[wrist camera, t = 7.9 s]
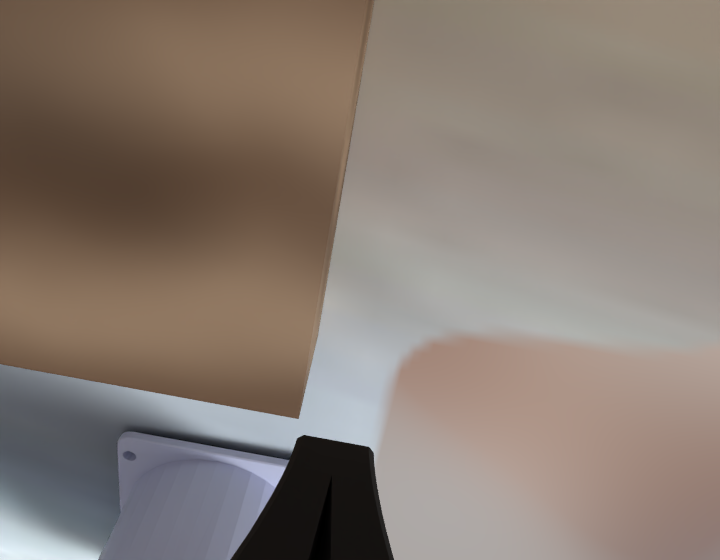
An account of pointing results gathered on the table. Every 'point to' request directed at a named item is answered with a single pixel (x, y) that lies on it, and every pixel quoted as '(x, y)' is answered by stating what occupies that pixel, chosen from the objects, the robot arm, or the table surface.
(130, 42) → the brown block
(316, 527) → the robot arm
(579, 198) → the table surface
